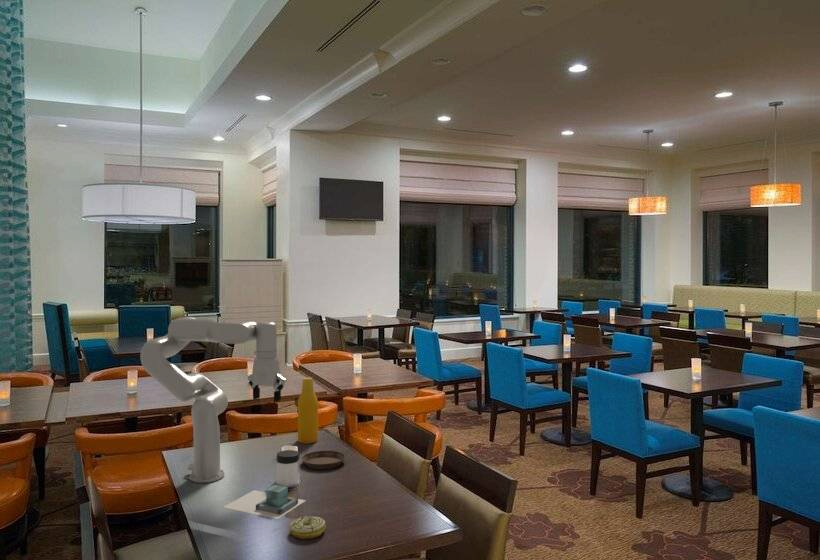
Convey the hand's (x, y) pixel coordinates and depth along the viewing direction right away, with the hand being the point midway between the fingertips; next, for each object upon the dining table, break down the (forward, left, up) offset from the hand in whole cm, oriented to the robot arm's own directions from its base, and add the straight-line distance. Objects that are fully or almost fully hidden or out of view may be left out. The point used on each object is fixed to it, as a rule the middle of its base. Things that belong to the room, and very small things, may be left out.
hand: (266, 399), depth 224 cm
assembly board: (+16, -22, -30) cm, 41 cm away
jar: (+11, -2, -31) cm, 32 cm away
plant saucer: (+10, +24, -31) cm, 40 cm away
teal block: (+21, -22, -29) cm, 42 cm away
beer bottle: (-13, +47, -31) cm, 58 cm away
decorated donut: (+39, -31, -31) cm, 59 cm away
